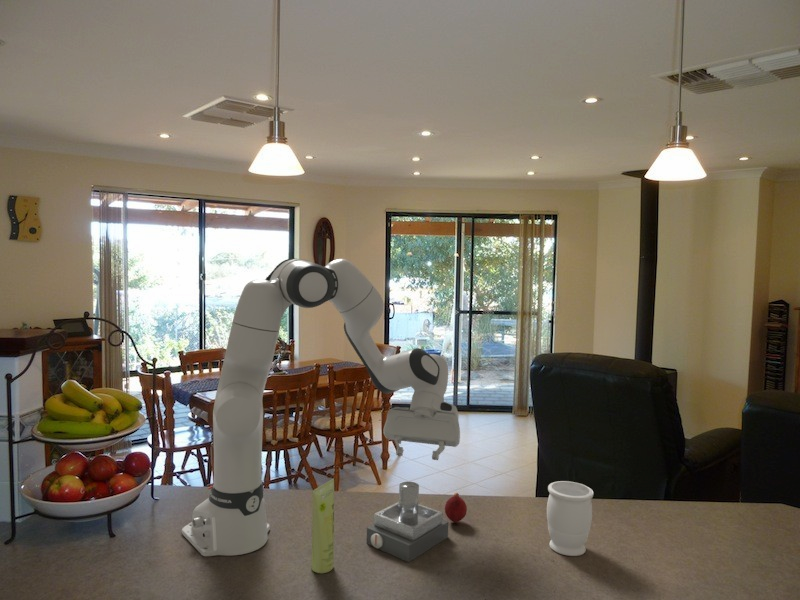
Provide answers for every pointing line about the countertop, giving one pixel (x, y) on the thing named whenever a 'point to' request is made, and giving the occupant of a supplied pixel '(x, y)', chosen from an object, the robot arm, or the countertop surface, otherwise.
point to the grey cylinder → (408, 503)
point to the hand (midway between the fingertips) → (416, 456)
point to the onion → (455, 508)
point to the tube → (323, 528)
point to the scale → (405, 541)
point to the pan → (425, 523)
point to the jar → (569, 516)
